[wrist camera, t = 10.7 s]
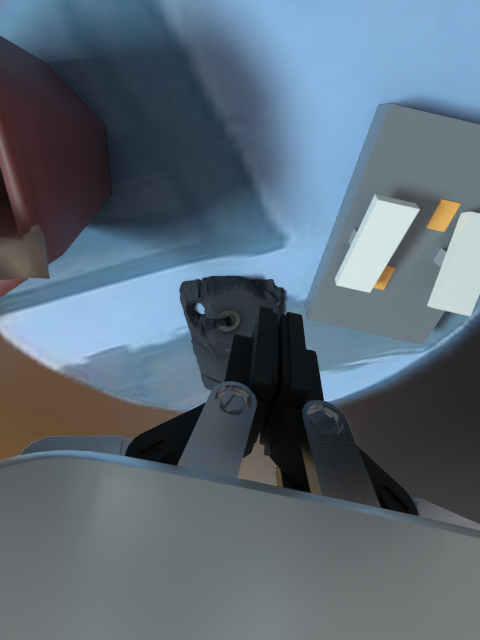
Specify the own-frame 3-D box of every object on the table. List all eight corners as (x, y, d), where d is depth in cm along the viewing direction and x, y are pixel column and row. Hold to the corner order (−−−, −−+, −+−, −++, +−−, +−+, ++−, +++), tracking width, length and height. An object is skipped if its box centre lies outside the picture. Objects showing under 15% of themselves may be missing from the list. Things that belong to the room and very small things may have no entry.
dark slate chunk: (195, 381, 56) (189, 401, 52) (178, 272, 44) (169, 287, 40) (279, 386, 55) (279, 407, 51) (286, 274, 43) (286, 290, 39)
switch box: (378, 104, 31) (396, 102, 26) (530, 140, 31) (574, 145, 26) (305, 303, 44) (308, 325, 40) (411, 327, 45) (427, 352, 40)
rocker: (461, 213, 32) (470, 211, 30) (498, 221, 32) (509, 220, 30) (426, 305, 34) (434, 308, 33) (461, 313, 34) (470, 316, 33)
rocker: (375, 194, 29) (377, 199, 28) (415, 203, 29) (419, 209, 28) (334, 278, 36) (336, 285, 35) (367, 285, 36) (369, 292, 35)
